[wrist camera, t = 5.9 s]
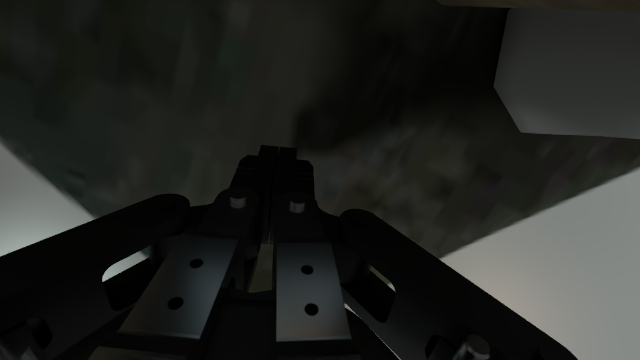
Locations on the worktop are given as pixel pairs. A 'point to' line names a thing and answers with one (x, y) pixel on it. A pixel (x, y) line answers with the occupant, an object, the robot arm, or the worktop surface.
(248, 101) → the worktop surface
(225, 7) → the worktop surface
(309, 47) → the worktop surface
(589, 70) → the flask
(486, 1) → the outer post
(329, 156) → the worktop surface
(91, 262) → the robot arm
